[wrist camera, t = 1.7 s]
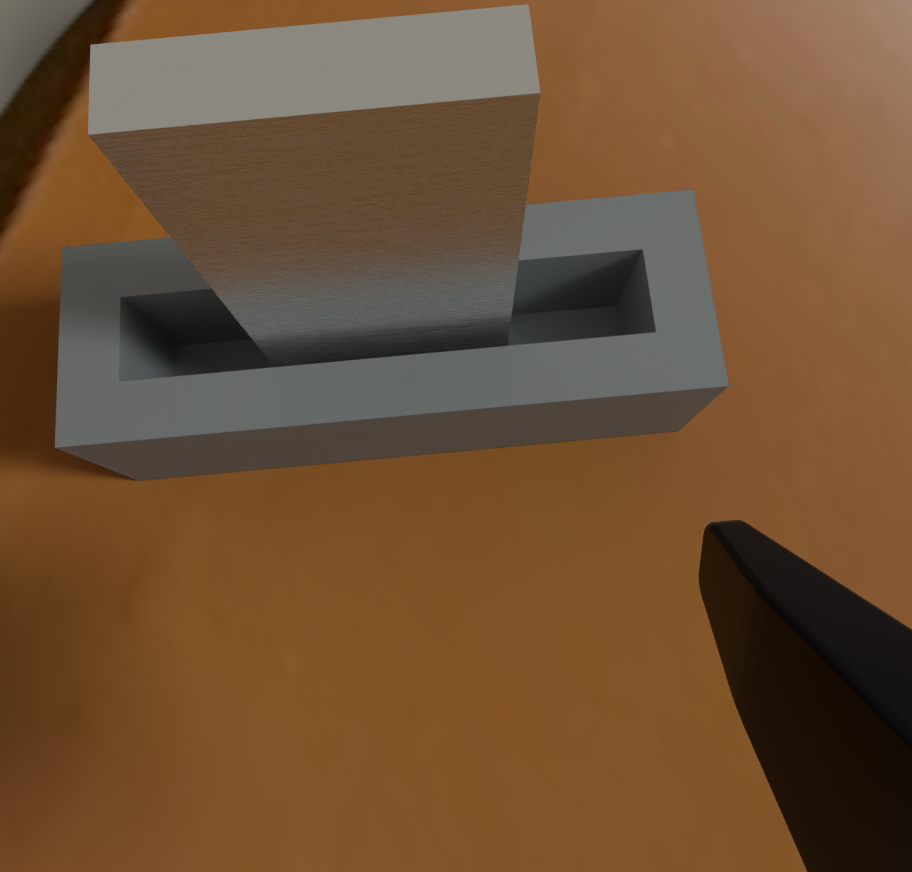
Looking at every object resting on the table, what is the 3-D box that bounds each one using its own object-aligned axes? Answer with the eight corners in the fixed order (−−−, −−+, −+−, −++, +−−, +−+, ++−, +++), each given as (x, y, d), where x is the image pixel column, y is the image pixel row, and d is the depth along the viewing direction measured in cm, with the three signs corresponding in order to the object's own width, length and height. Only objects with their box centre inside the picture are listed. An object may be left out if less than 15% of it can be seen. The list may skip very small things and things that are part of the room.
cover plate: (503, 374, 22) (540, 93, 10) (296, 393, 22) (88, 134, 10) (498, 329, 22) (528, 4, 10) (294, 347, 22) (90, 44, 10)
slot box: (678, 430, 22) (729, 385, 18) (137, 480, 22) (54, 447, 18) (651, 269, 23) (693, 189, 19) (139, 316, 23) (62, 247, 19)
